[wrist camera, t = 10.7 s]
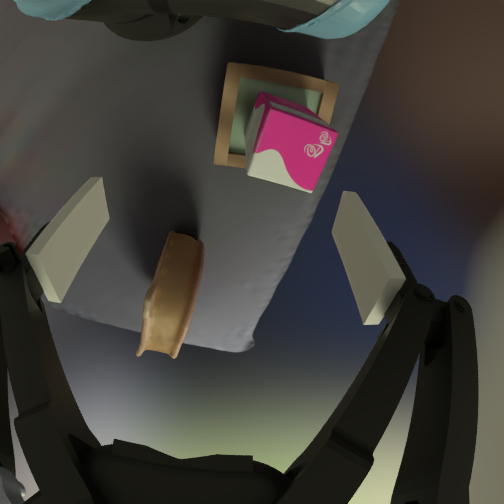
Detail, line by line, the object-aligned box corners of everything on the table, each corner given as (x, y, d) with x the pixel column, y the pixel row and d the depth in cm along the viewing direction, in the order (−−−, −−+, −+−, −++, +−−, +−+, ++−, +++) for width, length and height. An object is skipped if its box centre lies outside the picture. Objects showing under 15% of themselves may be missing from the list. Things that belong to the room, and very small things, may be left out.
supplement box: (292, 151, 32) (311, 197, 23) (243, 136, 30) (241, 175, 22) (310, 107, 28) (340, 133, 19) (259, 89, 27) (265, 105, 18)
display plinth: (231, 61, 30) (227, 62, 24) (324, 79, 31) (339, 84, 26) (218, 146, 37) (213, 163, 32) (304, 159, 38) (314, 179, 33)
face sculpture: (170, 212, 44) (140, 288, 30) (211, 224, 45) (198, 304, 32) (153, 294, 55) (134, 365, 42) (186, 302, 57) (174, 375, 44)
